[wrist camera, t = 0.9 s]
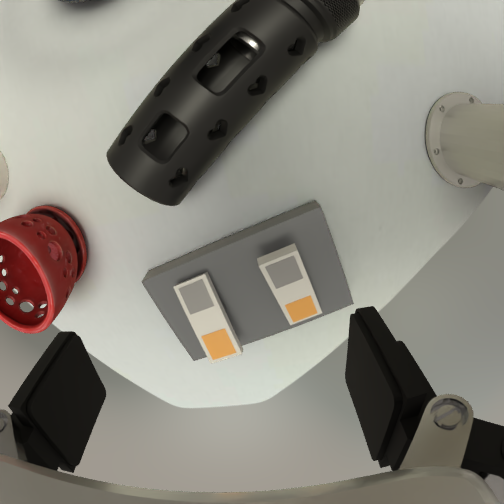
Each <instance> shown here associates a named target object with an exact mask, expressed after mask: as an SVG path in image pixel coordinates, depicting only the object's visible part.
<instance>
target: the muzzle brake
mask: <svg viewBox="0 0 504 504" xmlns="http://www.w3.org/2000/svg"><path fill="white" fill-rule="evenodd" d="M364 1H365V0H236V1H235V2H234V3H233V4H231V5H230V6H229V7H228V8H227V9H226V10H225V11H224V12H223V13H222V14H221V15H220V16H219V17H218V18H217V19H216V20H215V21H214V22H213V23H211V24H210V25H209V26H208V27H207V28H206V30H205V31H204V32H203V33H202V34H201V35H200V36H199V37H198V38H197V39H196V40H195V41H194V42H193V43H192V44H191V45H190V46H189V47H188V48H187V49H186V51H185V52H184V53H183V54H182V55H181V56H180V57H179V58H178V59H177V61H176V62H175V63H174V64H173V65H172V66H171V68H170V69H169V70H168V71H167V72H166V73H165V75H164V76H163V77H162V78H161V79H160V81H159V82H158V83H157V84H156V86H155V87H154V88H153V89H152V91H151V92H150V93H149V94H148V96H147V97H146V98H145V99H144V101H143V102H142V103H141V105H140V106H139V107H138V109H137V110H136V111H135V113H134V114H133V115H132V117H131V118H130V120H129V121H128V122H127V124H126V125H125V127H124V128H123V129H122V131H121V132H120V134H119V135H118V137H117V138H116V140H115V141H114V142H113V144H112V145H111V147H110V149H109V150H108V152H107V159H108V162H109V164H110V166H111V167H112V169H113V170H114V171H115V173H116V174H117V175H118V176H119V177H120V178H121V179H122V180H123V181H124V182H126V183H127V184H128V185H129V186H131V187H132V188H133V189H135V190H136V191H137V192H139V193H140V194H142V195H144V196H145V197H147V198H149V199H151V200H153V201H155V202H158V203H160V204H164V205H169V206H175V205H178V204H180V203H181V201H182V200H183V199H184V198H185V196H186V195H187V194H188V193H189V191H190V190H191V189H192V187H193V186H194V185H195V183H196V182H197V180H198V179H199V178H200V177H201V176H202V175H203V174H204V173H205V172H206V171H207V169H208V168H209V167H210V166H211V165H212V163H213V162H214V161H215V160H216V159H217V157H218V156H219V155H220V154H221V153H222V152H223V150H224V149H225V148H226V147H227V145H228V144H229V143H230V142H231V140H232V139H233V138H234V137H235V136H236V135H237V134H238V133H239V132H240V131H241V130H242V129H243V128H244V127H245V125H246V124H247V123H248V122H249V121H250V120H251V119H252V118H253V117H254V115H255V114H256V113H257V112H258V111H259V110H260V109H261V108H262V106H263V105H264V104H265V103H266V101H267V100H268V99H269V98H271V97H272V96H273V95H274V94H275V93H276V92H277V91H278V90H279V89H280V88H281V87H282V86H283V85H284V84H285V83H286V82H287V81H288V80H289V79H290V78H291V76H292V75H293V74H294V73H295V72H296V71H297V70H298V69H299V68H300V66H301V65H302V64H304V63H305V62H306V61H307V60H308V59H309V58H311V57H312V56H313V55H314V54H315V53H316V51H317V49H318V43H319V42H327V41H329V40H333V39H335V38H336V37H337V36H338V35H339V34H340V33H341V32H343V31H344V30H345V29H346V28H347V27H348V26H349V25H350V24H351V23H353V22H354V21H355V20H356V19H357V17H358V15H359V10H360V5H362V4H363V2H364ZM216 53H217V55H218V58H217V65H211V66H206V63H207V62H208V61H209V60H210V59H212V57H213V56H214V55H215V54H216ZM218 125H220V127H219V130H218ZM151 129H154V130H155V139H150V140H147V141H144V139H145V137H146V136H148V133H149V132H150V131H151Z"/></svg>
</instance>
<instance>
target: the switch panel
mask: <svg viewBox="0 0 504 504" xmlns="http://www.w3.org/2000/svg"><path fill="white" fill-rule="evenodd" d="M294 243H295V245H296V248H297V250H298V253H299V255H300V258H301V260H302V262H303V265H304V267H305V270H306V272H307V275H308V277H309V280H310V282H311V285H312V287H313V290H314V293H315V295H316V298H317V300H318V303H319V305H320V308H321V311H322V313H321V314H319V315H316V316H314V317H311V318H309V319H306V320H303V321H301V322H298V323H295V324H293V325H290V324H289V322H288V320H287V318H286V316H285V314H284V313H283V311H282V309H281V307H280V305H279V303H278V301H277V300H276V298H275V296H274V294H273V292H272V290H271V288H270V286H269V285H268V283H267V281H266V279H265V277H264V275H263V273H262V271H261V270H260V268H259V266H258V261H257V258H259V257H262V256H264V255H267V254H269V253H272V252H274V251H277V250H279V249H281V248H284V247H286V246H289V245H291V244H294ZM206 272H208V274H209V276H210V279H211V281H212V283H213V285H214V288H215V290H216V292H217V294H218V296H219V299H220V301H221V303H222V305H223V307H224V310H225V312H226V314H227V316H228V318H229V320H230V322H231V325H232V327H233V329H234V331H235V333H236V335H237V337H238V340H239V342H240V344H241V346H242V345H245V344H248V343H251V342H254V341H257V340H260V339H263V338H266V337H268V336H271V335H274V334H277V333H280V332H282V331H285V330H288V329H291V328H293V327H296V326H299V325H301V324H304V323H306V322H309V321H312V320H314V319H317V318H319V317H322V316H324V315H327V314H329V313H332V312H334V311H337V310H339V309H342V308H344V307H347V306H349V305H351V304H354V303H353V300H352V297H351V294H350V290H349V287H348V284H347V281H346V278H345V275H344V272H343V269H342V266H341V263H340V260H339V257H338V254H337V251H336V248H335V245H334V242H333V239H332V236H331V233H330V231H329V228H328V225H327V222H326V220H325V217H324V214H323V211H322V209H321V206H320V205H319V204H318V203H317V202H316V201H312V202H310V203H307V204H305V205H302V206H300V207H298V208H295V209H293V210H290V211H288V212H285V213H283V214H281V215H278V216H276V217H273V218H271V219H268V220H266V221H264V222H261V223H259V224H256V225H254V226H252V227H249V228H247V229H245V230H242V231H240V232H237V233H235V234H233V235H230V236H228V237H226V238H223V239H221V240H219V241H216V242H214V243H212V244H209V245H207V246H205V247H202V248H200V249H198V250H195V251H193V252H191V253H188V254H186V255H184V256H181V257H179V258H177V259H175V260H172V261H170V262H168V263H165V264H163V265H161V266H159V267H156V268H154V269H152V270H150V271H148V273H147V274H146V276H145V277H144V279H143V280H142V283H143V285H144V287H145V288H146V290H147V291H148V293H149V295H150V296H151V298H152V299H153V301H154V303H155V304H156V306H157V307H158V309H159V310H160V312H161V314H162V315H163V317H164V318H165V320H166V321H167V323H168V324H169V326H170V327H171V329H172V330H173V332H174V333H175V335H176V336H177V338H178V339H179V340H180V342H181V343H182V345H183V346H184V348H185V349H186V351H187V352H188V353H189V355H190V356H191V358H192V359H193V360H194V361H195V360H198V359H202V358H205V357H207V355H206V353H205V352H204V350H203V348H202V346H201V344H200V342H199V340H198V338H197V336H196V334H195V332H194V330H193V328H192V326H191V323H190V321H189V319H188V317H187V315H186V313H185V311H184V309H183V307H182V305H181V303H180V300H179V298H178V296H177V294H176V292H175V290H174V286H175V285H176V284H179V283H181V282H184V281H186V280H188V279H191V278H193V277H196V276H198V275H201V274H203V273H206Z"/></svg>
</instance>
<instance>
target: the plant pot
mask: <svg viewBox="0 0 504 504" xmlns="http://www.w3.org/2000/svg"><path fill="white" fill-rule="evenodd" d="M1 255H2V256H3V260H2V262H1V263H0V282H1V281H2V282H4V283H5V285H6V290H4V291H3V290H1V289H0V319H1V320H2V321H3V322H4V323H6V324H7V325H9V326H10V327H12V328H14V329H16V330H18V331H21V332H24V333H30V334H31V333H39V332H42V331H44V330H45V329H47V327H49V326H50V324H51V323H52V322H53V321H54V320H55V318H56V317H57V316H58V314H59V313H60V311H61V310H62V308H63V307H64V305H65V303H66V301H67V299H68V297H69V295H70V293H71V292H72V289H73V287H74V284H75V283H76V282H77V281H78V280H79V278H80V277H81V276H82V274H83V272H84V269H85V266H86V260H87V252H86V245H85V241H84V238H83V236H82V233H81V231H80V229H79V228H78V226H77V225H76V223H75V222H74V221H73V220H72V218H71V217H70V216H68V215H67V214H66V213H65V212H63V211H61V210H60V209H57V208H55V207H52V206H38V207H35V208H33V209H31V210H30V211H29V212H28V213H27V214H24V215H19V216H15V217H12V218H9V219H7V220H4V221H2V222H0V256H1ZM2 269H5V270H6V276H3V275H2ZM14 288H15V289H17V290H18V294H14V293H13V291H12V290H13V289H14ZM7 298H11V299H12V300H13V302H14V304H13V305H9V304H8V303H7V302H6V299H7ZM22 302H30V303H31V304H32V305H33V306H34V309H33V310H32V311H30V312H23V311H22V310H21V309H20V304H21V303H22ZM43 304H47V305H46V307H44V308H40V306H41V305H43ZM41 314H44V315H43V316H42V317H39V318H37V317H38V316H39V315H41Z"/></svg>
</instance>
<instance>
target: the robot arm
mask: <svg viewBox="0 0 504 504" xmlns="http://www.w3.org/2000/svg"><path fill="white" fill-rule="evenodd" d="M439 109H440V110H439ZM426 146H427V150H428V154H429V157H430V160H431V162H432V164H433V166H434V168H435V170H436V171H437V172H438V174H439V175H440V176H441V177H442V178H443V179H444V180H446V181H447V182H448V183H450V184H452V185H455V186H457V187H461V188H470V187H474V186H476V185H478V184H480V183H481V182H482V183H485V184H488V185H491V186H493V187H496V188H499V189H502V190H504V104H483V103H482V102H481V101H480V100H479V99H477V98H476V97H474V96H473V95H470V94H468V93H463V92H453V93H449V94H446V95H444V96H443V97H441V98H440V99H439V100H438V101H437V102H436V103H435V104H434V106H433V107H432V109H431V111H430V114H429V116H428V120H427V125H426ZM345 379H346V383H347V386H348V389H349V392H350V395H351V398H352V401H353V404H354V407H355V409H356V412H357V415H358V418H359V421H360V424H361V427H362V430H363V433H364V436H365V439H366V442H367V445H368V448H369V451H370V454H371V457H372V459H373V461H375V460H378V462H379V465H380V467H381V468H382V467H386V466H389V465H390V466H391V469H392V471H390V472H385V473H380V474H375V475H370V476H365V477H360V478H355V479H350V480H344V481H339V482H333V483H328V484H321V485H314V486H307V487H298V488H291V489H281V490H270V491H255V492H231V493H230V492H229V493H227V492H224V493H215V492H214V493H213V492H183V491H168V490H157V489H147V488H139V487H132V486H125V485H119V484H113V483H107V482H102V481H97V480H92V479H87V478H83V477H78V476H74V475H70V474H66V473H62V472H59V471H57V469H58V467H60V468H61V469H62V470H64V471H68V472H72V473H73V472H74V470H75V467H76V466H77V465H78V464H79V463H80V460H81V458H82V455H83V453H84V450H85V447H86V445H87V442H88V440H89V437H90V435H91V432H92V429H93V427H94V424H95V422H96V419H97V417H98V414H99V412H100V410H101V407H102V405H103V402H104V400H105V397H106V390H105V387H104V385H103V383H102V382H101V380H100V378H99V376H98V374H97V372H96V370H95V368H94V366H93V364H92V361H91V360H90V357H89V355H88V353H87V351H86V349H85V347H84V344H83V342H82V340H81V338H80V337H79V336H77V334H76V333H75V332H60V333H58V335H57V336H56V337H55V338H54V340H53V341H52V343H51V344H50V345H49V347H48V348H47V349H46V351H45V352H44V354H43V355H42V356H41V358H40V359H39V361H38V362H37V363H36V365H35V366H34V368H33V369H32V371H31V372H30V374H29V375H28V376H27V378H26V379H25V381H24V382H23V384H22V385H21V387H20V388H19V390H18V391H17V393H16V395H15V396H14V398H13V399H12V401H11V402H10V404H9V405H8V406H9V408H10V409H11V410H12V412H13V413H12V415H10V414H9V413H8V412H7V411H6V410H0V504H504V426H501V425H497V424H494V423H490V422H487V421H483V420H480V419H476V418H473V410H472V407H471V405H470V404H469V403H468V401H466V400H465V399H463V398H462V397H460V396H457V395H453V394H444V395H439V396H436V394H435V392H434V391H433V389H432V387H431V386H430V384H429V382H428V381H427V379H426V377H425V376H424V374H423V372H422V371H421V369H420V368H419V366H418V365H417V363H416V361H415V360H414V358H413V356H412V355H411V353H410V352H409V350H408V349H407V347H406V346H405V344H404V343H403V342H402V341H396V340H395V338H394V337H393V335H392V334H391V332H390V330H389V329H388V327H387V326H386V324H385V323H384V321H383V319H382V318H381V316H380V315H379V313H378V312H377V310H376V309H375V307H374V306H371V307H364V308H358V309H356V311H355V314H351V315H350V325H349V339H348V351H347V362H346V372H345Z"/></svg>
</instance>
